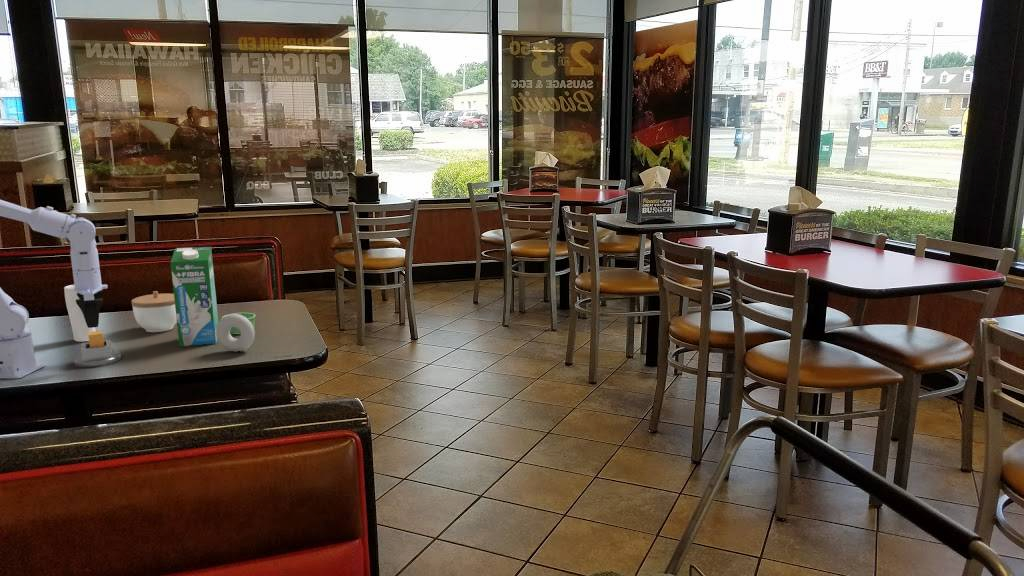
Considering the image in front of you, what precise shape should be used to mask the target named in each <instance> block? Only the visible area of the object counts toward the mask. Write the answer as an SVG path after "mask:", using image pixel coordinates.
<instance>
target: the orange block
mask: <svg viewBox="0 0 1024 576" xmlns="http://www.w3.org/2000/svg"><path fill="white" fill-rule="evenodd" d="M88 336H89V341H88V343H89V344H90V348H93V347H101V346H104V341H105V340H104V333H103V330H98V331H96V332H89V334H88Z"/></svg>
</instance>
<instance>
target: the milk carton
mask: <svg viewBox="0 0 1024 576" xmlns="http://www.w3.org/2000/svg"><path fill="white" fill-rule="evenodd" d="M212 250H213V249H212V246H201V247H200V246H198V247H195V246H194V247H175V249H174V251H173V254H172V256H171V260H170V268H171V269H170V271H171V281H172V290H173V294H174V300H175V309H176V319H177V323H176V326H177V327H176V328H177V337H178V345H179V347H191V346H190V345H193V346H204V345H203V344H206V345H215V343H216V344H217V342H218V339H217V335H216V327H217V325H218V322H219V317H218V316H219V314H218V305H217V295H216V294H217V293H216V286H215V285H216V284H215V273H214V263H213V253H212Z"/></svg>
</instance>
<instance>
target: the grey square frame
mask: <svg viewBox="0 0 1024 576" xmlns="http://www.w3.org/2000/svg"><path fill="white" fill-rule="evenodd" d="M80 345H81V346H80V352H81V353H80V354H81V355H77V356H76V357H75V358H74V359H73V360H74V365H75V367H77V368H84V369H85V368H99V367H103V366H109V365H113V364H115V363H117V362H119V361H121V360H122V356H121V355H122V353H121V352H120V351H117V350H113V348H112V341H111V339H108V340H107V339H106V340H104V346H101V347H93V348H90V344H89V342H83V343H82V342H81V344H80Z"/></svg>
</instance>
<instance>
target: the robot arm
mask: <svg viewBox="0 0 1024 576" xmlns="http://www.w3.org/2000/svg"><path fill="white" fill-rule="evenodd" d="M76 216H77V215H76V214H74V213H71V214H66V213H62V212H59V211H56V210H54V207H52V206H49V205H47V206H46V207H42V206H40V207H37V208H35V209H31V208H28V207H25V206H21V205H18V204H16V203H12V202H9V201H5V200H3V199H0V217H2V218H3V217H4V218H6V219H10V220H11V219H12V220H15V221H19V222H23V223H27V225H29V226H30V228H31V229H32V230H33V231H34V232H38V233H42V234H44V235H45V234H46V235H49V236H51V237H56V238H58V239H66V238H67V240H68V241H69V243H70V262H71V268H72V277H73V285H75V288H74V291H75V292H77V296H78V297H79V299H76V304H77V305H78V306H79V308H80V309H81V311H82V313H83V315H84V318H85V321H86V324H87V326H88V328H93V327H96V328H98V327H99V323H100V318H99V317H100V312H101V311H100V310H101V306H102V304H103V301H104V298H103V297H102V295H103V293H104V291H103V290H104V289H105V290H106V289H108V284H102V276H101V270H100V269H101V267H100V260H99V251H98V249H97V242H96V241H97V240H96V226H95V224H94V223H93V222H92V221H90V220H89V219H86V218H85V217H83V216H82V217H79V216H78V217H76ZM29 319H30V315H29V311H28V310H27V308H26V307H24V306H23V305H20V304H18V303H17V302H15V301H14V299H13V298H12V297H11V296H9V295H8V294H7V293H6V292H5V291H4V290H3V289H2V287H0V379H21V378H23V377H25V376H27V375H30V374H31V373H33V372H35V371H38V370H39V369H41V368H44V367H45V366H46V364H45V363H37V362H36V356H35V350H34V349H35V348H34V343H33V335H32V330H30V328H28V327H27V326H26V324H27V323H28V322H29Z"/></svg>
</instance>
